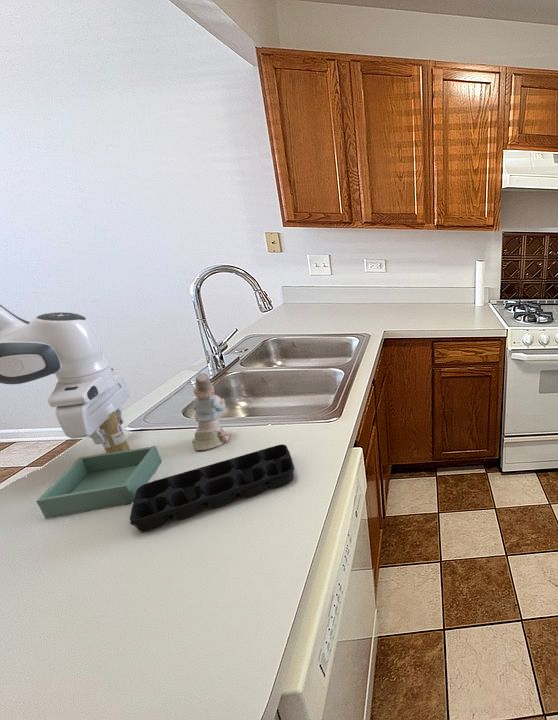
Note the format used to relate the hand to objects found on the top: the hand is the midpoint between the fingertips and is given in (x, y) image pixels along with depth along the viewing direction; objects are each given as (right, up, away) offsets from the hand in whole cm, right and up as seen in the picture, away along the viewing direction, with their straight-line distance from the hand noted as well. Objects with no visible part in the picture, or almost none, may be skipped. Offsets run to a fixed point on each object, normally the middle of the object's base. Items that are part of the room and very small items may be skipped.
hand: (110, 433), depth 96 cm
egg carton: (+34, -11, -10) cm, 37 cm away
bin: (+8, -10, -9) cm, 16 cm away
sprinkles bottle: (0, -6, +2) cm, 6 cm away
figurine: (+20, -4, +7) cm, 22 cm away
